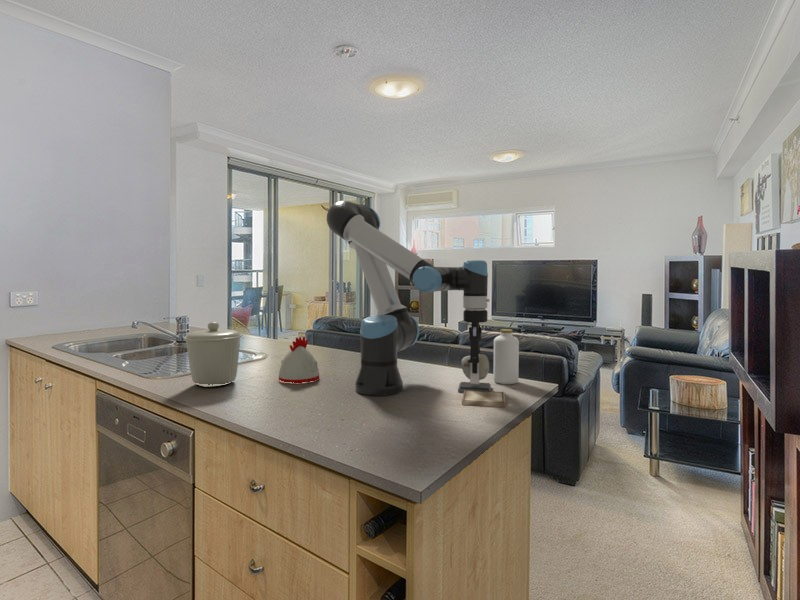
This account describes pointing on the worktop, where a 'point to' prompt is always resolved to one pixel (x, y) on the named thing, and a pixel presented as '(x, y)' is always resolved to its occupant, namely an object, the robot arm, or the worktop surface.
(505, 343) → the potion bottle
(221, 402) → the worktop surface
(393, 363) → the robot arm
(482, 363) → the decorative object
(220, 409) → the worktop surface
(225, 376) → the canister
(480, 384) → the ink pad
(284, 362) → the grey knit hat
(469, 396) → the board
